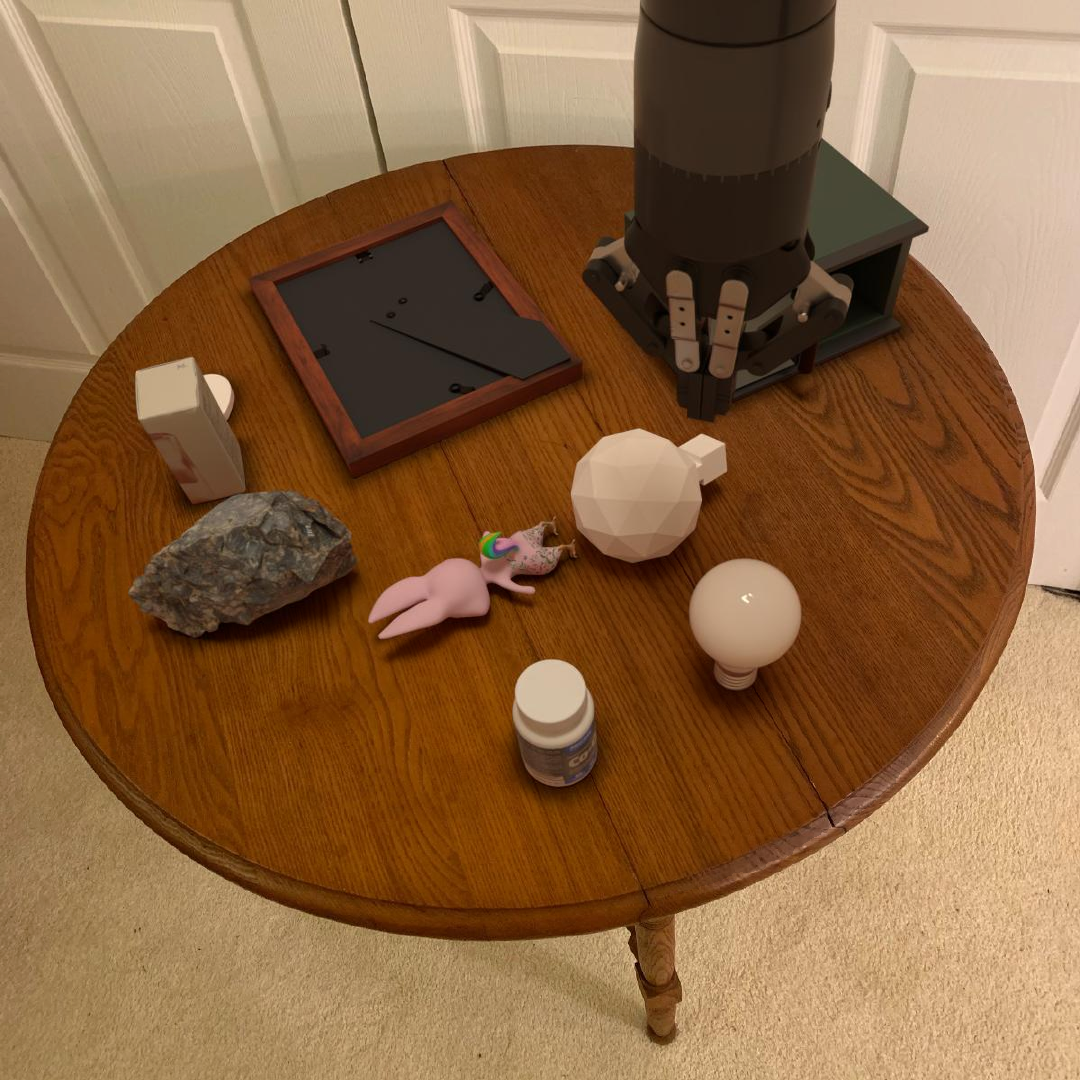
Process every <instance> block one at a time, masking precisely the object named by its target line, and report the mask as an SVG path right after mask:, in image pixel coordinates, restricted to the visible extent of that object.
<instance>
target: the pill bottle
mask: <svg viewBox="0 0 1080 1080" xmlns="http://www.w3.org/2000/svg"><path fill="white" fill-rule="evenodd" d="M512 721H513V725H514V726H513V727H514V729H515V733H516V737H517V742H518V746H519V751H520V755H521V759H522V762H523V764H524V767H525V769H526V770H527V772H528V773H529V775H531V776H532V777H533V778H534V779H535V780H536V781H538V782H540V783H542V784H544V785H547V786H550V787H557V788H558V787H568V786H571V785H574V784H576V783H578V782H580V781H582V780H583V779H584V778H585V777H586V776H588V774H589V773H590V772H591V770H592V769H593V768H594V765H595V763H596V761H597V757H598V737H597V726H596V725H597V723H596V710H595V702H594V699H593V695H592V693H591V692H590V690H589V689H588V687H587V686H586V682H585V679H584V676H583V675H582V673H581V672H580V671H579V670H578V669H577V668H576V667H575V666H574V665H572V664H571V663H569V662H567V661H565V660H561V659H553V658H552V659H551V658H550V659H542V660H539V661H536V662H534V663H532V664H531V665H529V666H527V667H526V668H525V669H524V670H523V671H522V673H521V674H520V676H519V677H518V679H517V681H516V684H515V687H514V700H513V705H512Z"/></svg>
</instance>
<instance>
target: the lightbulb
mask: <svg viewBox="0 0 1080 1080" xmlns="http://www.w3.org/2000/svg"><path fill="white" fill-rule="evenodd" d="M688 619H689V625H690V628H691V632H692V635H693V637H694V638H695V641H696V642H697V644H698V646H699V647H700V648H701V650H703V651H704V653H705V654H706V655H708V656H709V657H710V658H711V659H713V660H714V664H713V674H714V678H715V680H716V681H717V683H718V684H719V685H720V686H721V687H723V688H725V689H727V690H730V691H734V692H735V691H737V692H738V691H739V692H740V691H744V690H746V689H748V688H750V687H751V686H752V685H753V684H754V683H755V681H756V679H757V675H758V670H759V668H762V667H765V666H768V665H771V664H773V663H774V662H776V661H777V660H779V659H780V658H781V657H783V656H784V655H785V654H786V653H787V652H788V651H789V649H791V647H792V646H793V645H794V643H795V641H796V639H797V637H798V635H799V632H800V629H801V625H802V604H801V599H800V597H799V594H798V591H797V590H796V588H795V586H794V584H793V583H792V581H791V580H790V579H789V578H788V577H787V576H786V575H785V573H783V572H782V571H781V570H780V569H779V568H777V567H776V566H774V565H772V564H770V563H769V562H765V561H763V560H759V559H756V558H749V557H748V558H744V557H743V558H742V557H741V558H734V559H729V560H726V561H723V562H721V563H719V564H717V565H715V566H714V567H711V568H710V569H709V570H708V571H707V572H706V573H705V574H704V575H702V577H701V578H700V580H699V581H698V582H697V584H696V585H695V587H694V589H693V591H692V593H691V597H690V600H689V606H688Z"/></svg>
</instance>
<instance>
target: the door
mask: <svg viewBox="0 0 1080 1080" xmlns="http://www.w3.org/2000/svg"><path fill="white" fill-rule="evenodd" d="M797 290H798V288H797V287H796V288H795V289H794V290H793V291H791V292H790V293H789V294H787V295H786V296H785V297H784V298H782V299H781V300H780V301H778V302H777V303H776V304H775V305H773V306H772V307H771V308H769V309H768V310H767V311H766V312H764V313H763V314H762V315H760V316H759V317H757V318H755V319H753V320H749V321H747V326H746V331H745V332H753V331H756V330H757V328H758V327H759V326H761V325H762V324H763V323H765V322H766V321H768V320H769V319H771V318H772V317H773V316H775V315H776V314H778V313H779V312H781V311H782V310H783V309H785V308H786V307H788V306H789V305H790V304H792V303H793V302H794V298H795V295H796V292H797ZM715 324H716V320H714V319H712V318H711V335H710V342H709V344H710V345H713V344H712V341H713V335H714V330H715ZM818 344H819V341H818V342H816V343H814V344H813V345H811V346H810V347H808V348H807V349H805V350H804V351H802V352H800V353H799V354H797V355H796V356H794V357H793V358H791V359H790V360H788V361H786V362H785V363H783V364H782V365H780V366H779V367H777V368H776V369H774V370H772V371H771V372H769V373H768V374H766V375H764V376H755V375H752V374H750V373H749V372H748V371H747V370H740V371H738V372H737V378H736V388H735V389H738V388H740V387H742V386H745V385H747V384H749V383H752V382H754V381H756V380H759V379H761V378H763V377H766V376H768V375H770V374H773V373H775V372H777V371H780V370H782V369H784V368H787V367H789V366H791V365H793V364H795V365H797V369H798V371H799V372H800V373H799V374H801V375H809V374H811V373H812V372H814V369H815V366H814V364H815V359H816V354H817V349H818Z"/></svg>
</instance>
